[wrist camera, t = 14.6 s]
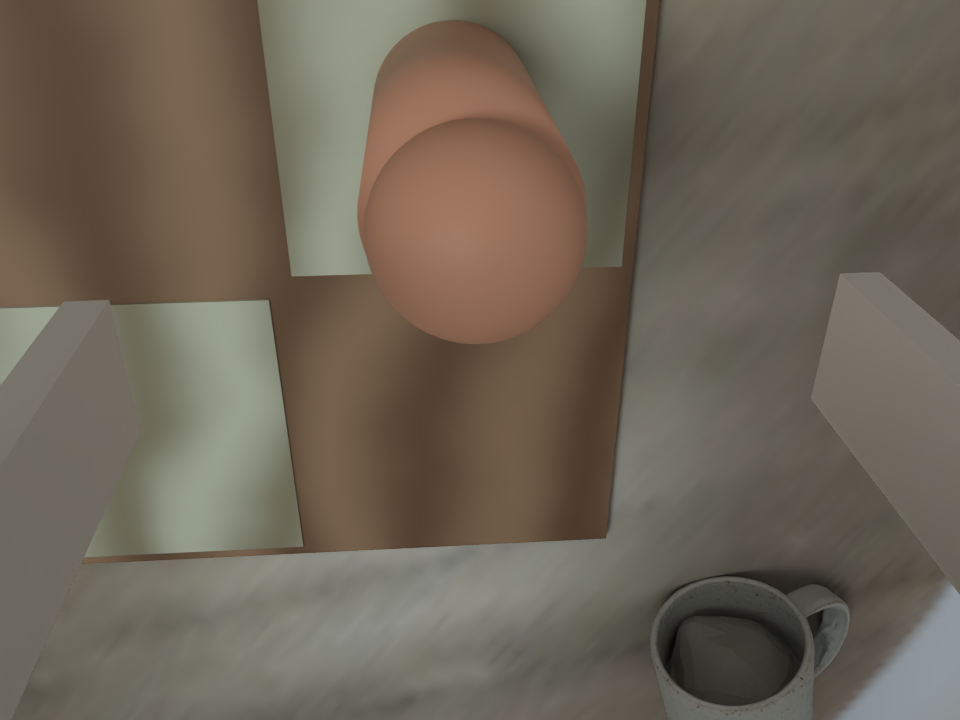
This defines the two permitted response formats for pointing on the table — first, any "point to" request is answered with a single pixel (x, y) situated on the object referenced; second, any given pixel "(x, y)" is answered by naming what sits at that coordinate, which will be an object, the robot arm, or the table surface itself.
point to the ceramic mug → (744, 649)
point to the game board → (307, 272)
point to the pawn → (468, 189)
